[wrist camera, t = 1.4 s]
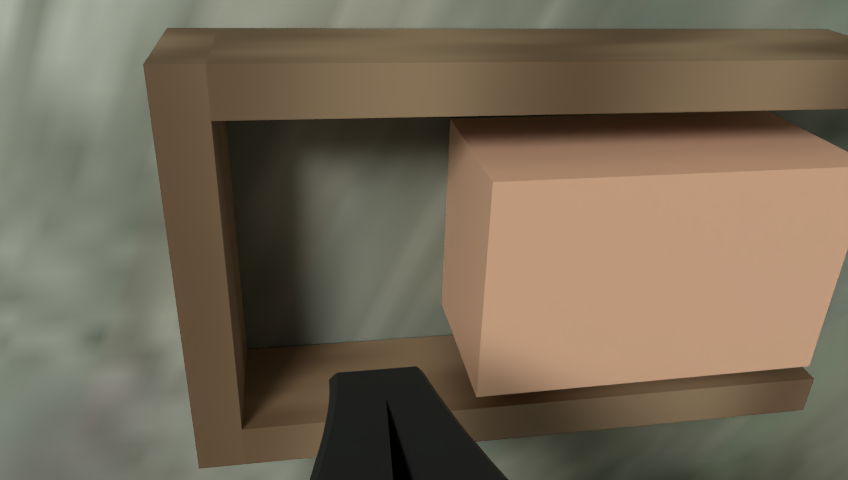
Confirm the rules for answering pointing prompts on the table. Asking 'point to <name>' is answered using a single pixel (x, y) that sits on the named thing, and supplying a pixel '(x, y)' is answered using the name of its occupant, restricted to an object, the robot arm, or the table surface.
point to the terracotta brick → (638, 246)
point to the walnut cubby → (432, 97)
